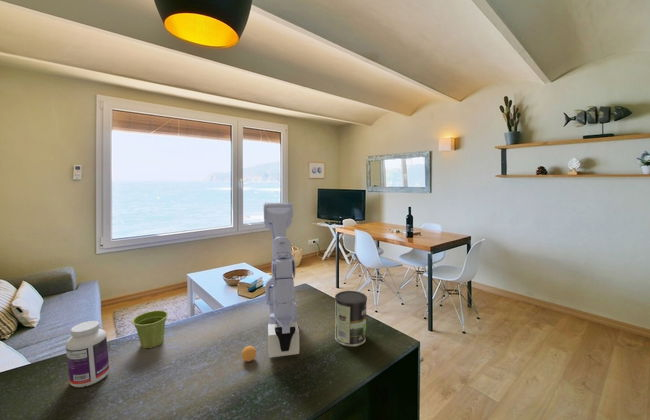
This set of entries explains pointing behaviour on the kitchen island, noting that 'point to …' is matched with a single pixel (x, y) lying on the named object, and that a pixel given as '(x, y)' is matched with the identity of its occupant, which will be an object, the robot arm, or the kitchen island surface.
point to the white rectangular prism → (275, 344)
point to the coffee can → (350, 318)
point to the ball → (249, 353)
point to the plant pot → (150, 328)
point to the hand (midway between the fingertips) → (284, 343)
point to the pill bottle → (87, 354)
